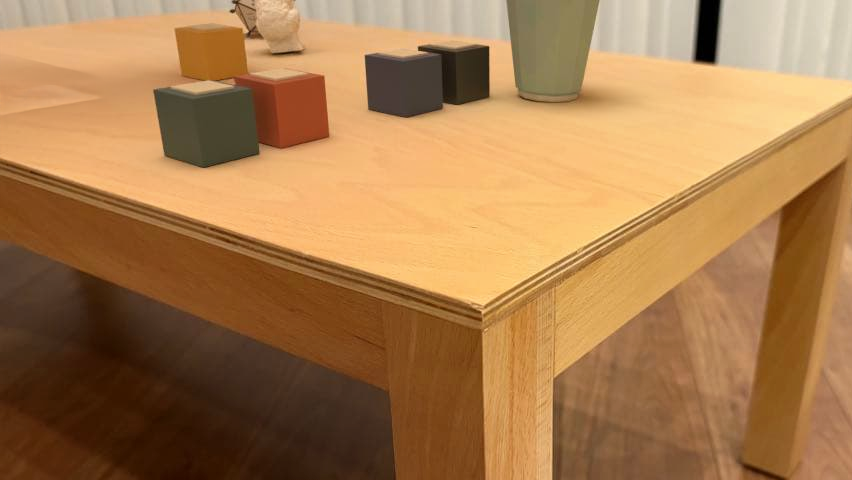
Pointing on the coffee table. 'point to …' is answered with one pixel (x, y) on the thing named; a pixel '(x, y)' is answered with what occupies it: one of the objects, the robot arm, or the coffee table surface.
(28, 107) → the coffee table surface
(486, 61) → the block
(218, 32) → the yellow cube block
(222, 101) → the block
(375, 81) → the block
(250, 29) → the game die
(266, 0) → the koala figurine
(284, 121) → the block
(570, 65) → the disposable coffee cup
